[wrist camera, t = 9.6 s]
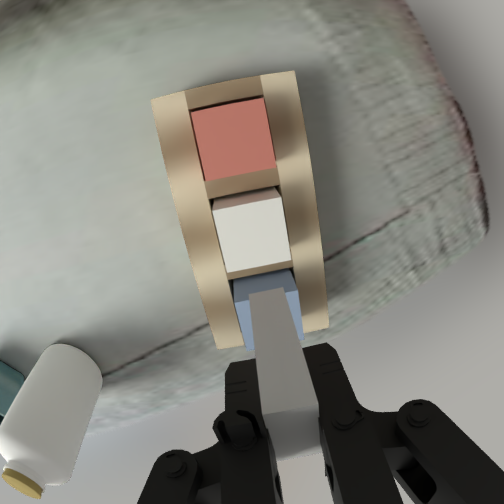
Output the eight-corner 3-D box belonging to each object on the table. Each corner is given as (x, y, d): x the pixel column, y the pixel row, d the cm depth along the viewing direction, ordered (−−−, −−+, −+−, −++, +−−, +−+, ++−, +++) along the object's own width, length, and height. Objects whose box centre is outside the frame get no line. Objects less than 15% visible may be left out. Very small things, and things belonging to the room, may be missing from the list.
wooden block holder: (162, 103, 23) (150, 99, 20) (284, 78, 23) (294, 70, 19) (218, 324, 31) (217, 349, 28) (318, 304, 31) (329, 327, 28)
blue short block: (233, 271, 27) (234, 302, 22) (286, 261, 27) (297, 290, 22) (243, 315, 29) (246, 350, 24) (293, 305, 29) (304, 339, 24)
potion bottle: (50, 380, 34) (0, 487, 17) (40, 331, 31) (-32, 447, 14) (107, 397, 35) (71, 517, 18) (103, 349, 32) (48, 486, 15)
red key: (198, 114, 23) (190, 112, 18) (256, 103, 23) (263, 98, 18) (210, 170, 25) (205, 181, 20) (267, 159, 24) (276, 167, 20)
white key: (215, 194, 25) (212, 210, 21) (271, 183, 25) (281, 196, 21) (227, 246, 27) (227, 272, 22) (280, 235, 27) (291, 260, 22)
